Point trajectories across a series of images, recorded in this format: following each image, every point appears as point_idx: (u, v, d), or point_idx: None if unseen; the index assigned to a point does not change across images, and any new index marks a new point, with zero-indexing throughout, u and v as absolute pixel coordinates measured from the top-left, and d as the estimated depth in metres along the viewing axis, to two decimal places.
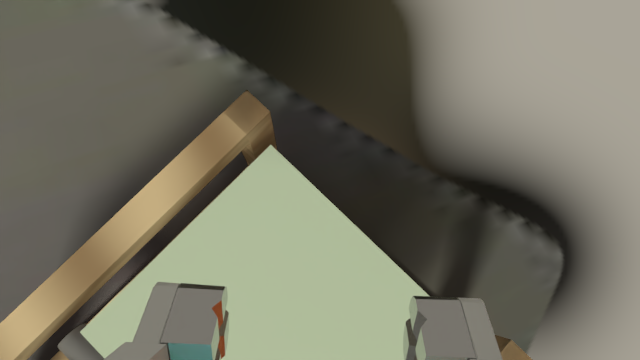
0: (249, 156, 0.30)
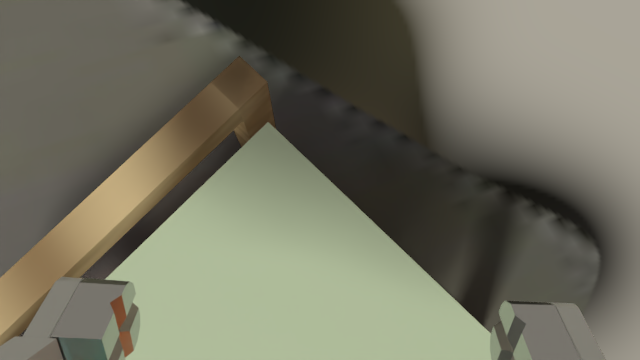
0: (244, 140, 0.26)
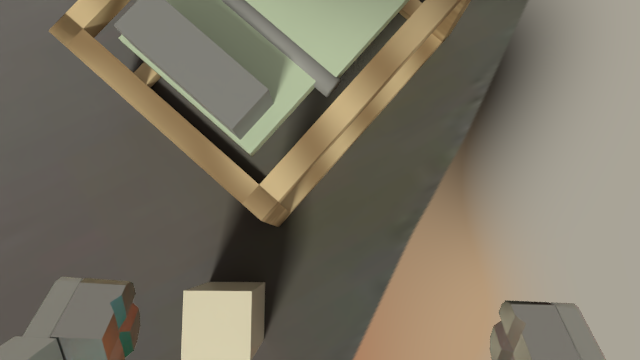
0: None
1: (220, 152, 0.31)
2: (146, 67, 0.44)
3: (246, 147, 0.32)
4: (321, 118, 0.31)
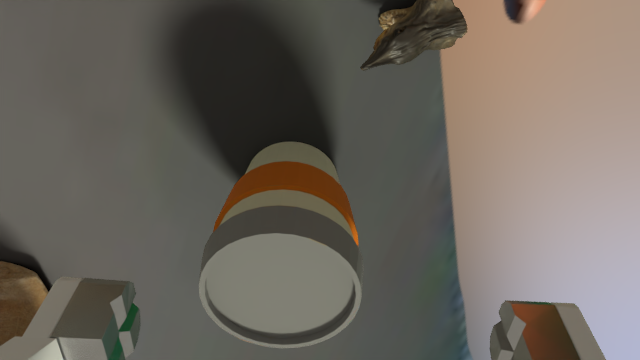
0: None
1: None
2: None
3: None
4: None
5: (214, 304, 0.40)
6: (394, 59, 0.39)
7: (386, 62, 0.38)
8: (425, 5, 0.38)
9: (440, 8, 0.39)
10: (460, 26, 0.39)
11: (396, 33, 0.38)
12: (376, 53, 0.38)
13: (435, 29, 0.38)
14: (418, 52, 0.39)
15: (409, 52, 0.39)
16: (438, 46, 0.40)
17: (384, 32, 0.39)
